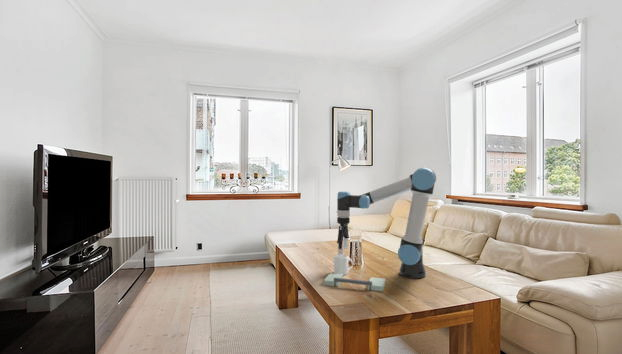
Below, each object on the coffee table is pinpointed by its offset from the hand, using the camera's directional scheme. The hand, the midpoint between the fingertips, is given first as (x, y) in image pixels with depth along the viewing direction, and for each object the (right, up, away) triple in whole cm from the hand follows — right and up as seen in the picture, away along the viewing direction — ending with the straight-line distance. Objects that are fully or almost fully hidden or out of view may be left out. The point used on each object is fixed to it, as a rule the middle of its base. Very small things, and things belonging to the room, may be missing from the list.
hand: (343, 251), depth 197 cm
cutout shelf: (+5, -14, -18) cm, 23 cm away
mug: (0, -14, 0) cm, 14 cm away
